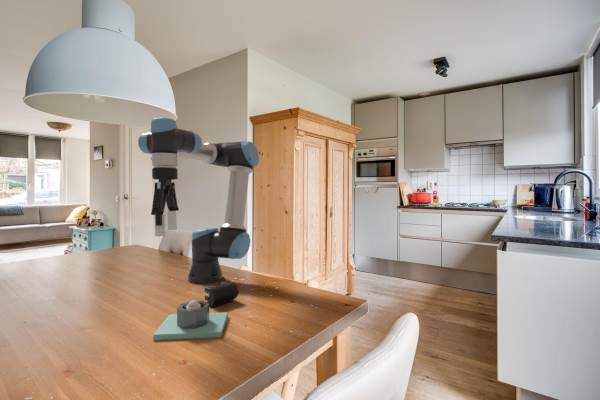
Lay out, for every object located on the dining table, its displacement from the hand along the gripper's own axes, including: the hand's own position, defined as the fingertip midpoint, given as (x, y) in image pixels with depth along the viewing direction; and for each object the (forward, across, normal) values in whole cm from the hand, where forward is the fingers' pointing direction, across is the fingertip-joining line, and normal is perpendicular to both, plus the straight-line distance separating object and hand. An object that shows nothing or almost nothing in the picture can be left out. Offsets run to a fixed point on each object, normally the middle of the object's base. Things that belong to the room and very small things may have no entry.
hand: (166, 232), depth 101 cm
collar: (+25, +12, +10) cm, 30 cm away
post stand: (+27, +12, +10) cm, 31 cm away
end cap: (+28, -8, +16) cm, 33 cm away
